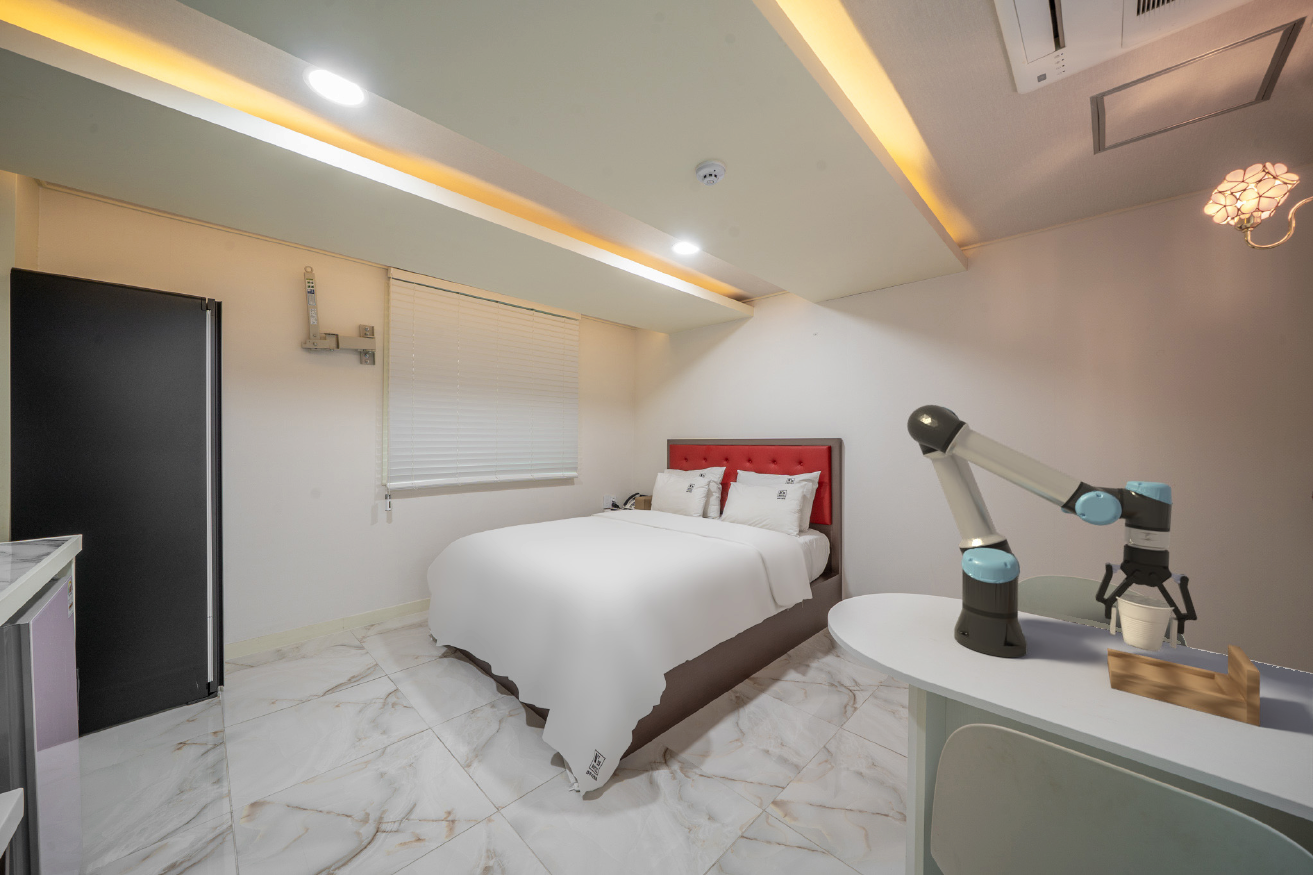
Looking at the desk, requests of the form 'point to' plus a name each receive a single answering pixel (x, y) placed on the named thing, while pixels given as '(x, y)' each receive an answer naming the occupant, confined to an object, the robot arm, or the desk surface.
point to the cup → (1143, 620)
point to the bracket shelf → (1191, 683)
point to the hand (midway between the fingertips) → (1141, 639)
